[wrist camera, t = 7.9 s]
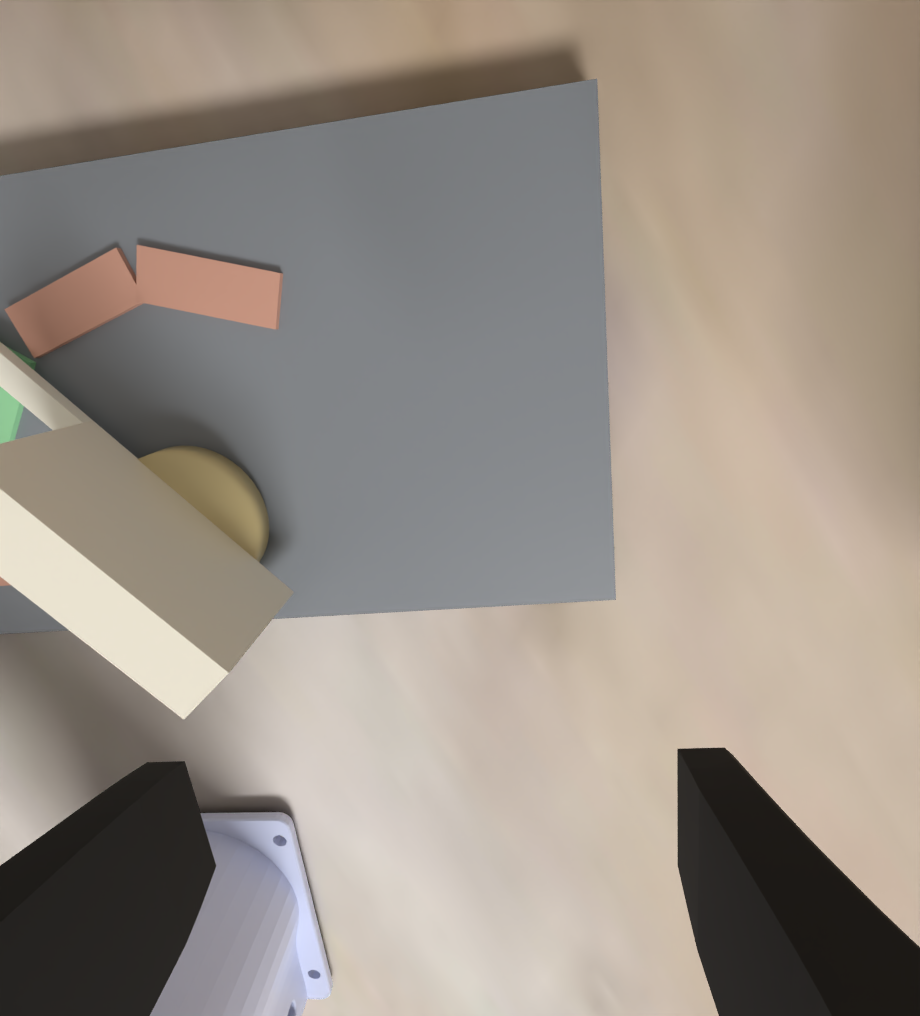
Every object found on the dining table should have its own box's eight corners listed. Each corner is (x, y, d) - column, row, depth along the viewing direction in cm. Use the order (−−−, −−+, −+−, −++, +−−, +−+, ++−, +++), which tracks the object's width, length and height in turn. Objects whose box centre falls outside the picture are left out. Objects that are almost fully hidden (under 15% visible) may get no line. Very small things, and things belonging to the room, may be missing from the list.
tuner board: (609, 581, 18) (617, 603, 17) (-72, 622, 21) (-111, 643, 20) (591, 96, 15) (598, 75, 13) (-239, 229, 18) (-302, 222, 16)
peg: (332, 549, 17) (263, 636, 13) (246, 640, 19) (153, 751, 14) (3, 260, 16) (-219, 238, 11) (-68, 382, 17) (-295, 409, 12)
